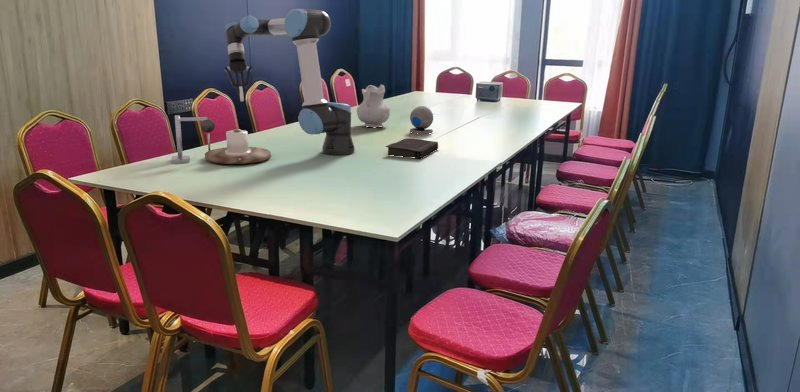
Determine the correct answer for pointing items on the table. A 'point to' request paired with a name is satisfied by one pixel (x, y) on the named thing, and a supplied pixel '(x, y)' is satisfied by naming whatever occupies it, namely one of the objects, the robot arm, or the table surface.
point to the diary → (412, 148)
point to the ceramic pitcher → (373, 107)
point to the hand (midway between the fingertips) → (242, 100)
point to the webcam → (421, 120)
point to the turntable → (220, 157)
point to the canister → (237, 143)
